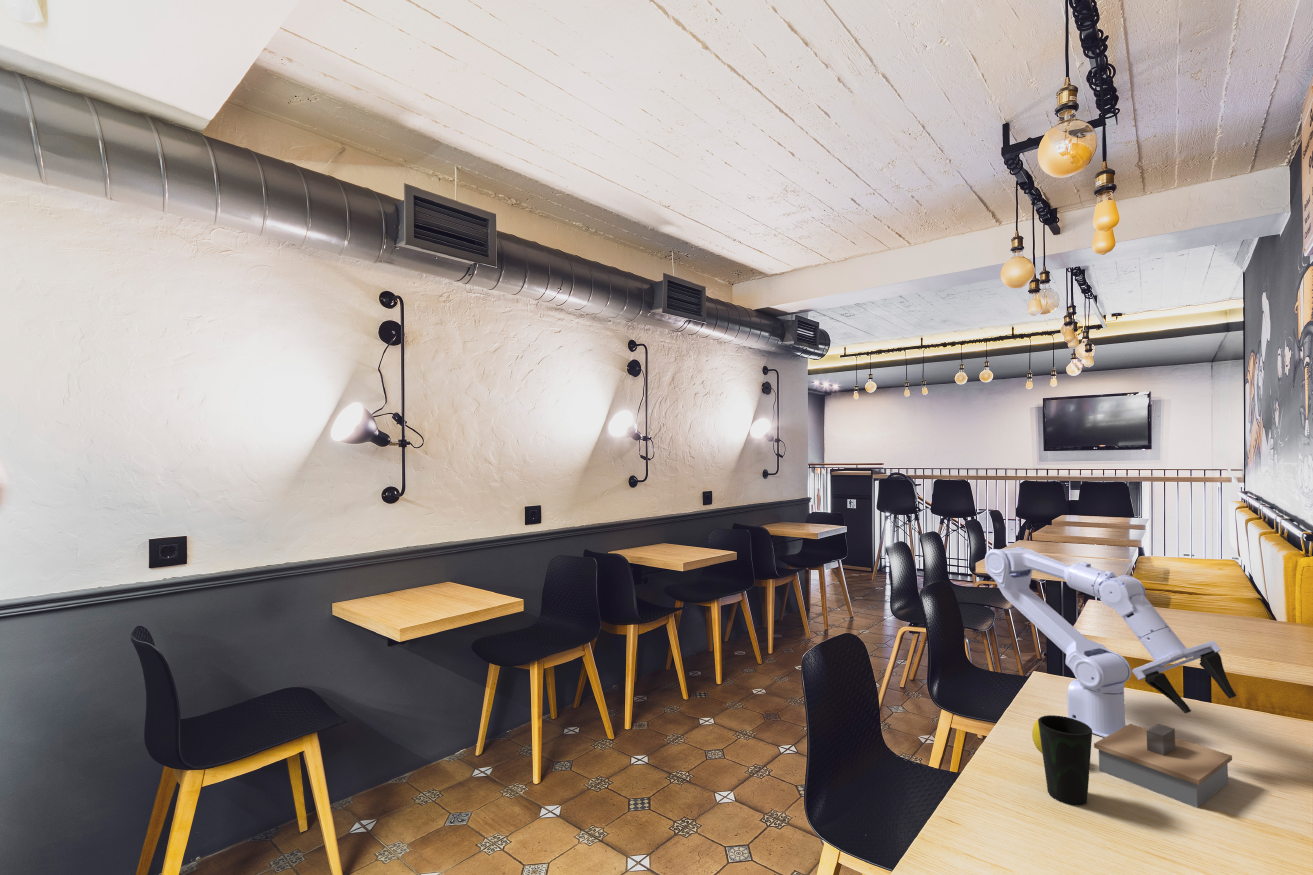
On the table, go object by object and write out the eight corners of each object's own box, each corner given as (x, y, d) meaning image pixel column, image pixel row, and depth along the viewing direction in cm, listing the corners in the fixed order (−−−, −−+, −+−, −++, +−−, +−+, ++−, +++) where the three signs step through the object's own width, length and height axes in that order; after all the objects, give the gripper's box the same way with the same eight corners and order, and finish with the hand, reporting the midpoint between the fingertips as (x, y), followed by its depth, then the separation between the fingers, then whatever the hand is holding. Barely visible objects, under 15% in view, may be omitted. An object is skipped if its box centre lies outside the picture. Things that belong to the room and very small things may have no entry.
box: (1099, 770, 111) (1098, 748, 111) (1133, 750, 118) (1132, 729, 118) (1197, 807, 99) (1196, 782, 99) (1228, 782, 106) (1227, 759, 106)
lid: (1094, 747, 111) (1093, 723, 111) (1130, 727, 119) (1129, 705, 119) (1199, 784, 98) (1197, 758, 98) (1232, 759, 106) (1231, 735, 106)
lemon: (1073, 767, 112) (1071, 723, 112) (1040, 764, 113) (1038, 721, 113) (1059, 752, 117) (1057, 711, 117) (1028, 750, 118) (1026, 709, 118)
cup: (1085, 787, 105) (1083, 718, 105) (1102, 812, 98) (1099, 737, 98) (1035, 780, 107) (1032, 712, 108) (1047, 804, 100) (1044, 731, 100)
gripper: (1119, 643, 116) (1173, 716, 108) (1198, 614, 113) (1260, 686, 105) (1114, 650, 122) (1165, 720, 113) (1190, 622, 118) (1248, 692, 110)
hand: (1210, 704), depth 109 cm, fingers open, 7 cm apart
